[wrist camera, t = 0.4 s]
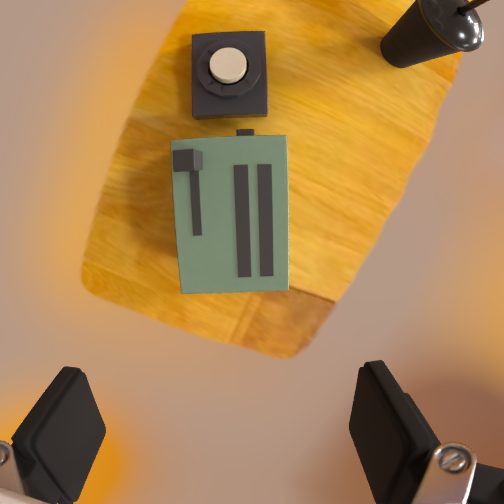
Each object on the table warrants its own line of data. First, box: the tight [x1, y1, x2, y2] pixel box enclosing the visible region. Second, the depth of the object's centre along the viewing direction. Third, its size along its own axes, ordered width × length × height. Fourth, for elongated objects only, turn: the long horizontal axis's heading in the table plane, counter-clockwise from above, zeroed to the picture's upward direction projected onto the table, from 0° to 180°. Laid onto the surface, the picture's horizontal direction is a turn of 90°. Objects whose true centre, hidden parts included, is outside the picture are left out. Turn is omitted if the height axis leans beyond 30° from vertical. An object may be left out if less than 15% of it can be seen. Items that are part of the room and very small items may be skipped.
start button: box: [210, 48, 246, 83], centre depth 29 cm, size 4×4×2 cm
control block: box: [192, 31, 268, 120], centre depth 31 cm, size 10×8×4 cm
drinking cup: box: [380, 0, 489, 68], centre depth 22 cm, size 8×8×20 cm
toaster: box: [171, 129, 289, 294], centre depth 32 cm, size 15×10×9 cm
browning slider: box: [173, 149, 203, 172], centre depth 24 cm, size 2×2×5 cm
